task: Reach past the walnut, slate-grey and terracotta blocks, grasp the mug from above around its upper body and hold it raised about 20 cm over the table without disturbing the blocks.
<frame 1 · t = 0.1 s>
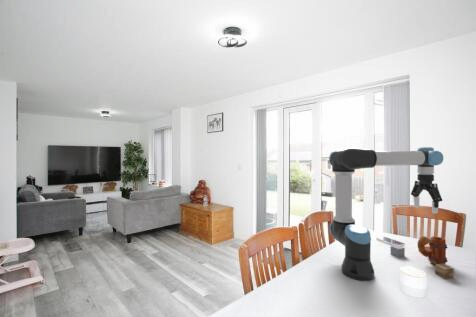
hand: (425, 210, 138), 28 cm above the table, tool pointing down, fingers open, 13 cm apart
terracotta block: (425, 253, 145), on the table
mug: (432, 263, 132), on the table
walnut block: (444, 276, 118), on the table
slate block: (397, 255, 143), on the table
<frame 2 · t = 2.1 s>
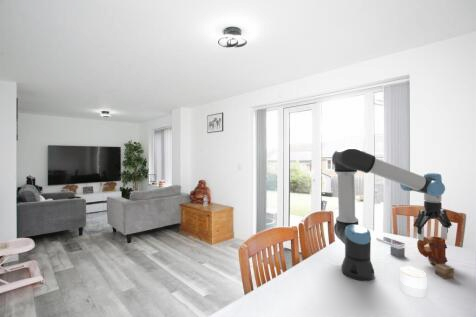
hand: (432, 239, 131), 13 cm above the table, tool pointing down, fingers open, 13 cm apart
mug: (432, 263, 132), on the table, touching gripper
everything else where it was.
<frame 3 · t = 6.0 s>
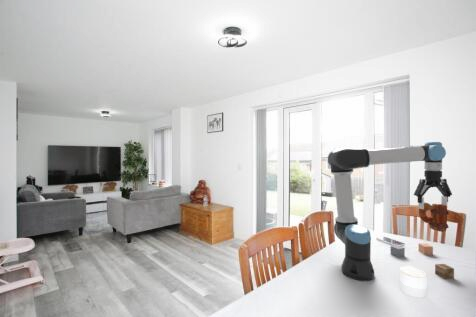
hand: (432, 208, 131), 31 cm above the table, tool pointing down, fingers closed on mug, 13 cm apart
mug: (432, 230, 131), point 18 cm above the table, touching gripper
everything else where it was.
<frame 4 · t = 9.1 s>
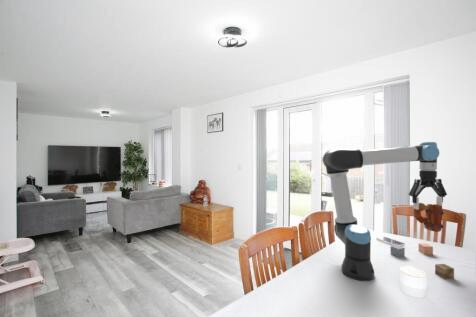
hand: (427, 208, 131), 31 cm above the table, tool pointing down, fingers closed on mug, 13 cm apart
mug: (427, 230, 131), point 18 cm above the table, touching gripper
everything else where it was.
at the end: the gripper is holding mug; mug point 18.5 cm above the table; walnut block moved 0.1 cm from its start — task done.
